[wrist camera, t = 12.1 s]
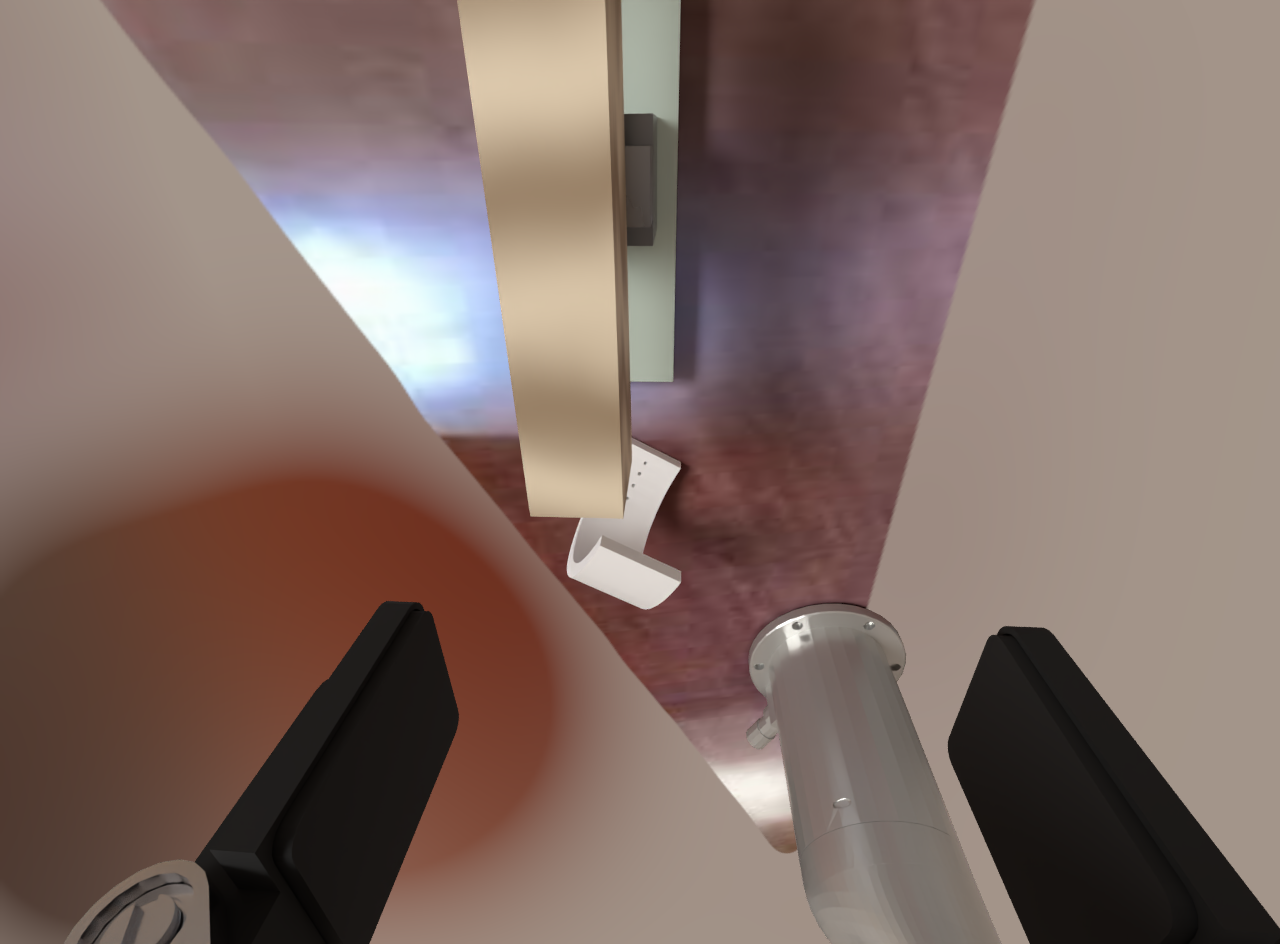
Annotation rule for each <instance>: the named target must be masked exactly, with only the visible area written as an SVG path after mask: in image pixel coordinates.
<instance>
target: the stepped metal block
mask: <svg viewBox="0 0 1280 944" xmlns="http://www.w3.org/2000/svg"><path fill="white" fill-rule="evenodd" d="M624 136H625V178H626V221H627V246H653V244H654V240H655V236H656V232H657V116H656V115H654V114H653V113H644V114H624Z"/></svg>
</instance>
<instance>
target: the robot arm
mask: <svg viewBox="0 0 1280 944" xmlns="http://www.w3.org/2000/svg"><path fill="white" fill-rule="evenodd" d="M905 660H906V653H905V649H904V646H903V643H902V641H901V638H900V636H899V634H898V632H897V631H896V629H895V628H894V627H893V626H892V625H891V623H890V622H888V621H887V620H886V619H885V618H883V617H882V616H880V615H878V614H876V613H874V612H872V611H870V610H868V609H864V608H861V607H858V606H853V605H846V604H819V605H812V606H807V607H803V608H800V609H796V610H793V611H791V612H789V613H786V614H784V615H782V616H780V617H778V618H777V619H775V620H774V621H772V622H771V623H769V624H768V625H767V626H766V627H765V628H764V629H763V630H761V631H760V633H759V634H758V635H757V637H756V638H755V640H754V641H753V643H752V646H751V648H750V651H749V659H748V661H749V670H750V675H751V678H752V681H753V683H754V685H755V686H756V688H757V689H758V691H760V692H761V693H762V694H763V695H764V696H765V697H766V698H767V704H768V705H767V706H766V707H765V709H764V710H763V717H762V718H760V719H758V720H757V721H756V722H755V723H754V724H753V725H752V726H751V727H750V728H749V729H748V730H747V732H746V737H747V740H748V742H749V743H750V744H751V745H752V746H753V747H754V748H756V749H763V748H764V747H765V746H766V745H767V744H768V743H769V742H770V741H771V740H772V739H773V738H774V737H775V735H776V734H777V733H779V740H780V746H781V752H782V758H783V764H784V770H785V776H786V782H787V788H788V794H789V801H790V807H791V813H792V819H793V825H794V831H795V837H796V843H797V849H798V856H799V862H800V867H801V873H802V878H803V885H804V889H805V893H806V897H807V900H808V903H809V906H810V909H811V911H812V913H813V915H814V917H815V919H816V921H817V923H818V925H819V927H820V928H821V930H822V931H823V933H824V934H825V936H826V937H827V939H828V940H829V941H830V942H831V944H1001V941H1000V939H999V937H998V934H997V932H996V930H995V927H994V925H993V923H992V920H991V918H990V916H989V913H988V911H987V909H986V906H985V904H984V901H983V899H982V897H981V894H980V892H979V889H978V887H977V885H976V882H975V880H974V877H973V874H972V872H971V869H970V867H969V864H968V862H967V859H966V857H965V855H964V852H963V849H962V847H961V844H960V841H959V839H958V837H957V834H956V831H955V829H954V826H953V824H952V821H951V819H950V816H949V814H948V811H947V809H946V806H945V804H944V801H943V798H942V796H941V793H940V791H939V788H938V786H937V783H936V781H935V778H934V776H933V773H932V771H931V768H930V766H929V763H928V760H927V758H926V755H925V753H924V750H923V748H922V745H921V743H920V740H919V738H918V735H917V733H916V730H915V728H914V725H913V723H912V720H911V717H910V715H909V713H908V710H907V707H906V705H905V703H904V700H903V697H902V695H901V692H900V690H899V687H898V685H897V681H898V679H899V678H900V676H901V675H902V672H903V669H904V666H905ZM458 720H459V713H458V708H457V704H456V701H455V697H454V693H453V690H452V686H451V682H450V678H449V675H448V671H447V667H446V664H445V660H444V656H443V653H442V649H441V645H440V642H439V638H438V634H437V630H436V627H435V623H434V619H433V616H432V614H431V613H430V612H429V611H424V609H423V606H422V605H421V604H420V603H417V602H394V601H386V602H384V603H383V604H381V605H380V607H379V608H378V609H377V610H376V612H375V613H374V615H373V616H372V618H371V619H370V620H369V622H368V623H367V625H366V626H365V628H364V629H363V630H362V632H361V633H360V635H359V636H358V638H357V639H356V641H355V642H354V643H353V645H352V646H351V648H350V649H349V651H348V652H347V653H346V655H345V656H344V658H343V659H342V661H341V662H340V664H339V665H338V666H337V668H336V669H335V671H334V672H333V673H332V675H331V676H330V678H329V679H328V680H326V681H325V682H323V683H322V684H321V685H320V687H319V688H318V689H317V690H316V691H315V693H314V694H313V696H312V697H311V698H310V700H309V701H308V702H307V704H306V705H305V707H304V708H303V710H302V711H301V712H300V714H299V715H298V717H297V718H296V719H295V721H294V722H293V724H292V725H291V727H290V728H289V729H288V731H287V732H286V734H285V735H284V736H283V738H282V739H281V741H280V742H279V743H278V745H277V746H276V748H275V749H274V751H273V752H272V753H271V755H270V756H269V758H268V759H267V760H266V762H265V763H264V765H263V766H262V767H261V769H260V770H259V772H258V773H257V775H256V776H255V777H254V779H253V780H252V782H251V783H250V784H249V786H248V787H247V789H246V790H245V792H244V793H243V794H242V796H241V797H240V799H239V800H238V802H237V803H236V804H235V806H234V807H233V809H232V810H231V811H230V813H229V814H228V816H227V817H226V818H225V820H224V821H223V823H222V824H221V826H220V827H219V828H218V830H217V831H216V833H215V834H214V836H213V837H212V838H211V840H210V841H209V842H208V844H207V845H206V847H205V848H204V850H203V851H202V852H201V854H200V855H199V857H198V858H197V859H196V861H195V862H190V861H185V860H173V861H167V862H161V863H158V864H156V865H153V866H151V867H148V868H146V869H143V870H141V871H139V872H137V873H136V874H134V875H132V876H131V877H129V878H128V879H126V880H124V881H123V882H121V883H120V884H118V885H116V886H115V887H114V888H113V889H112V890H110V891H109V892H108V893H107V894H106V895H104V896H103V897H102V898H101V899H100V900H99V901H98V902H96V903H95V904H94V905H93V906H92V907H91V908H90V909H89V911H88V912H87V913H86V914H85V915H84V916H83V917H82V919H81V920H80V921H79V922H78V923H77V924H76V925H75V927H74V928H73V930H72V931H71V933H70V934H69V936H68V938H67V939H66V941H65V942H64V944H369V943H370V941H371V938H372V936H373V934H374V931H375V929H376V926H377V924H378V921H379V919H380V916H381V914H382V911H383V909H384V907H385V904H386V902H387V899H388V897H389V894H390V892H391V889H392V887H393V885H394V882H395V880H396V877H397V875H398V872H399V870H400V868H401V865H402V863H403V860H404V858H405V855H406V853H407V851H408V848H409V846H410V843H411V841H412V838H413V836H414V834H415V831H416V828H417V826H418V824H419V821H420V819H421V816H422V814H423V811H424V809H425V807H426V804H427V802H428V799H429V797H430V794H431V792H432V789H433V787H434V784H435V782H436V780H437V777H438V775H439V773H440V770H441V768H442V765H443V762H444V760H445V758H446V755H447V753H448V751H449V748H450V746H451V743H452V741H453V738H454V736H455V733H456V730H457V726H458ZM948 753H949V758H950V761H951V763H952V766H953V768H954V770H955V773H956V775H957V777H958V780H959V782H960V784H961V787H962V789H963V791H964V793H965V796H966V798H967V800H968V803H969V805H970V807H971V810H972V812H973V814H974V816H975V819H976V821H977V823H978V825H979V828H980V830H981V832H982V835H983V837H984V839H985V842H986V844H987V846H988V848H989V851H990V853H991V855H992V857H993V860H994V862H995V864H996V867H997V869H998V872H999V874H1000V876H1001V878H1002V880H1003V883H1004V885H1005V888H1006V890H1007V892H1008V895H1009V897H1010V899H1011V901H1012V903H1013V906H1014V908H1015V911H1016V913H1017V915H1018V917H1019V919H1020V922H1021V924H1022V927H1023V929H1024V931H1025V933H1026V936H1027V938H1028V940H1029V943H1030V944H1280V928H1279V927H1278V926H1277V924H1276V923H1275V922H1274V920H1273V919H1272V918H1271V916H1269V914H1268V913H1267V911H1266V910H1265V909H1264V907H1263V906H1262V905H1261V903H1260V902H1259V901H1258V900H1257V898H1256V897H1255V896H1254V894H1253V893H1252V892H1251V891H1250V890H1249V888H1248V887H1247V885H1246V884H1245V883H1244V881H1243V880H1242V879H1241V878H1240V876H1239V875H1238V874H1237V872H1236V871H1235V870H1234V868H1233V867H1232V866H1231V865H1230V863H1229V862H1228V861H1227V860H1226V858H1225V857H1224V855H1223V854H1222V853H1221V852H1220V850H1219V849H1218V848H1217V846H1216V845H1215V844H1214V842H1213V841H1212V840H1211V839H1210V837H1209V836H1208V835H1207V833H1206V832H1205V831H1204V829H1203V828H1202V827H1201V826H1200V824H1199V823H1198V822H1197V821H1196V819H1195V818H1194V817H1193V815H1192V814H1191V813H1190V811H1189V810H1188V809H1187V807H1186V806H1185V805H1184V804H1183V802H1182V801H1181V800H1180V799H1179V797H1178V796H1177V794H1176V793H1175V792H1174V791H1173V789H1172V788H1171V787H1170V785H1169V784H1168V783H1167V781H1166V780H1165V779H1164V778H1163V776H1162V775H1161V774H1160V772H1159V771H1158V770H1157V768H1156V767H1155V766H1154V765H1153V763H1152V762H1151V761H1150V759H1149V758H1148V757H1147V755H1146V754H1145V753H1144V752H1143V751H1142V749H1141V748H1140V746H1139V745H1138V744H1137V742H1136V741H1135V740H1134V739H1133V738H1132V736H1131V735H1130V733H1129V732H1128V731H1127V730H1126V728H1125V727H1124V726H1123V724H1122V723H1121V722H1120V720H1119V719H1118V718H1117V717H1116V715H1115V714H1114V713H1113V711H1112V710H1111V709H1110V707H1109V706H1108V705H1107V704H1106V702H1105V701H1104V700H1103V698H1102V697H1101V696H1100V694H1099V693H1098V692H1097V691H1096V689H1095V688H1094V687H1093V685H1092V684H1091V683H1090V681H1089V680H1088V679H1087V678H1086V677H1085V675H1084V674H1083V672H1082V671H1081V670H1080V668H1079V667H1078V666H1077V665H1076V663H1075V662H1074V661H1073V659H1072V658H1071V657H1070V656H1069V654H1068V653H1067V652H1066V650H1065V649H1064V648H1063V646H1062V645H1061V644H1060V643H1059V641H1058V640H1057V639H1056V637H1055V636H1054V635H1053V634H1052V633H1051V632H1050V631H1049V630H1047V629H1045V628H1037V627H1034V628H1033V627H1011V626H1005V627H1002V628H1001V629H1000V630H999V632H998V634H997V635H991V636H990V637H989V638H988V640H987V642H986V645H985V647H984V650H983V652H982V655H981V657H980V660H979V662H978V665H977V668H976V670H975V673H974V675H973V678H972V680H971V683H970V686H969V688H968V690H967V693H966V696H965V698H964V701H963V703H962V706H961V708H960V711H959V713H958V716H957V718H956V721H955V723H954V726H953V729H952V731H951V734H950V736H949V740H948Z"/></svg>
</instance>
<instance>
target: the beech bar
mask: <svg viewBox="0 0 1280 944" xmlns="http://www.w3.org/2000/svg"><path fill="white" fill-rule="evenodd" d="M457 2H458V9H459V16H460V23H461V30H462V38H463V45H464V52H465V59H466V66H467V73H468V80H469V87H470V94H471V101H472V108H473V115H474V122H475V129H476V136H477V143H478V150H479V157H480V164H481V171H482V178H483V186H484V193H485V200H486V207H487V214H488V221H489V228H490V235H491V242H492V249H493V256H494V263H495V270H496V277H497V284H498V291H499V298H500V305H501V312H502V319H503V326H504V334H505V341H506V348H507V355H508V362H509V369H510V376H511V383H512V390H513V397H514V404H515V411H516V418H517V425H518V432H519V439H520V446H521V453H522V460H523V467H524V474H525V482H526V489H527V496H528V503H529V510H530V516H541V517H579V518H617V519H623V517H624V511H625V504H626V497H627V491H628V484H629V477H630V471H631V464H632V435H631V392H630V349H629V306H628V264H627V221H626V178H625V136H624V93H623V50H622V8H621V0H457Z"/></svg>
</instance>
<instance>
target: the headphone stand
mask: <svg viewBox="0 0 1280 944" xmlns="http://www.w3.org/2000/svg"><path fill="white" fill-rule="evenodd" d="M680 469H681V462H680V461H678V460H676V459H674V458H672V457H670V456H668V455H666V454H664V453H662V452H660V451H658V450H656V449H654V448H652V447H650V446H648V445H646V444H644V443H642V442H640V441H638V440H636V439H634V438H632V464H631V471H630V477H629V484H628V491H627V497H626V504H625V511H624V517H623V519H617V518H581V519H580V522H579V524H578V527H577V530H576V533H575V536H574V539H573V542H572V545H571V549H570V553H569V557H568V563H567V574H568V576H569V577H571V578H573V579H575V580H578V581H580V582H582V583H584V584H587V585H589V586H591V587H594V588H596V589H598V590H600V591H603V592H605V593H607V594H610V595H612V596H614V597H616V598H619V599H621V600H623V601H626V602H628V603H630V604H632V605H635V606H637V607H639V608H642V609H650V608H653V607H655V606H657V605H658V604H660V603H661V602H663V601H664V600H665V599H666V598H667V597H668V596H669V595H670V594H671V593H672V592H673V591H674V590H675V589H676V588H677V587H678V585H679V584H680V583H681V571H679V570H677V569H675V568H673V567H671V566H668V565H666V564H664V563H662V562H660V561H657V560H655V559H653V558H651V557H649V556H647V555H644V554H643V550H644V546H645V543H646V540H647V536H648V533H649V531H650V528H651V525H652V523H653V520H654V518H655V515H656V513H657V511H658V508H659V506H660V504H661V502H662V500H663V498H664V496H665V494H666V492H667V490H668V489H669V487H670V485H671V483H672V482H673V480H674V478H675V477H676V475H677V474H678V472H679V471H680Z"/></svg>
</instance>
